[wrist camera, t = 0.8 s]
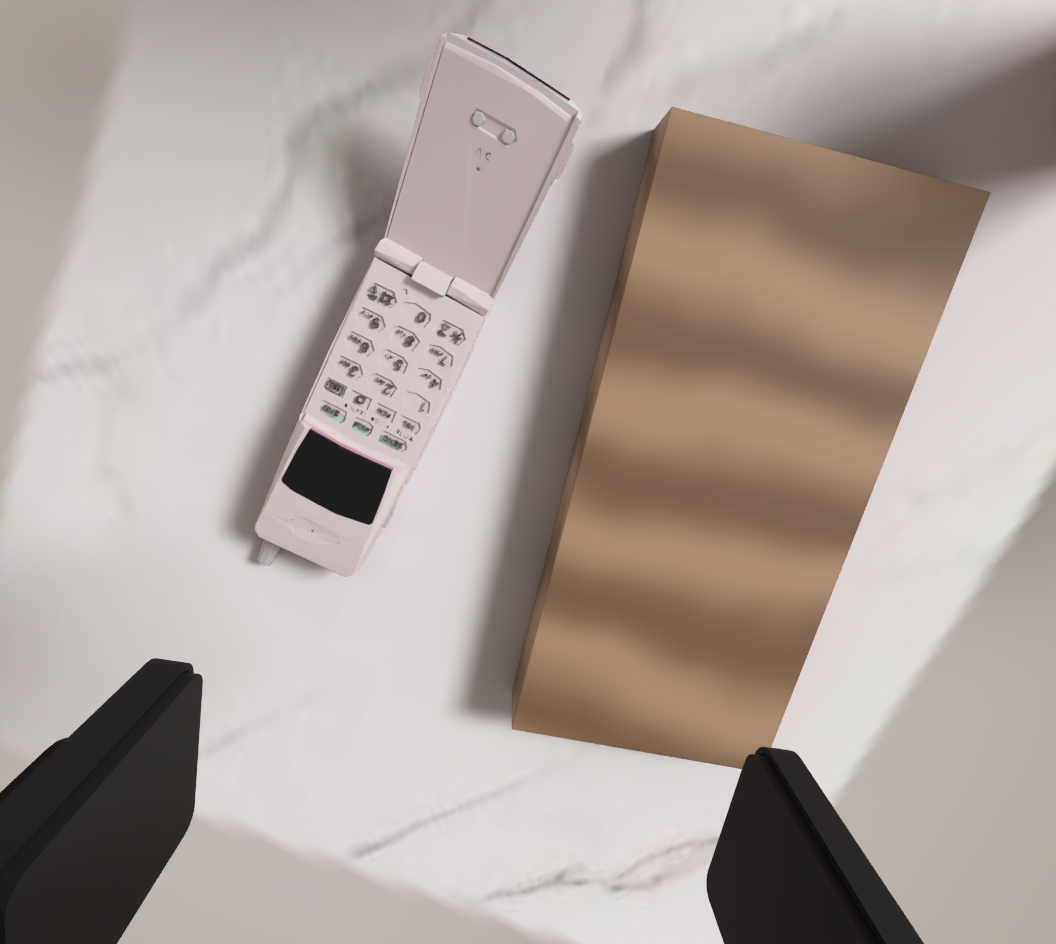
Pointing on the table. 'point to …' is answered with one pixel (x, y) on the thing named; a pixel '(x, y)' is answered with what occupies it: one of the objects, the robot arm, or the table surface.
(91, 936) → the robot arm
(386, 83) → the table surface
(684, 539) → the walnut stand
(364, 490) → the mobile phone
